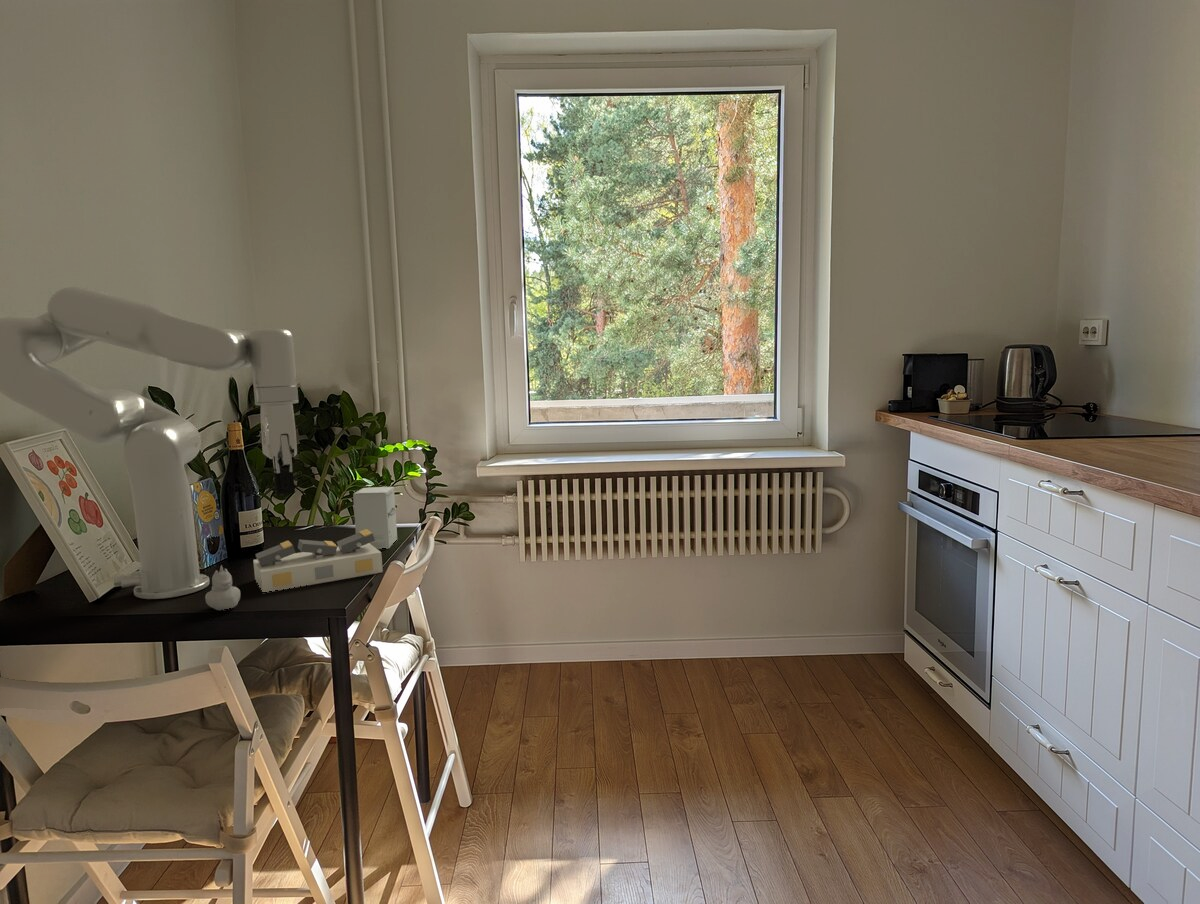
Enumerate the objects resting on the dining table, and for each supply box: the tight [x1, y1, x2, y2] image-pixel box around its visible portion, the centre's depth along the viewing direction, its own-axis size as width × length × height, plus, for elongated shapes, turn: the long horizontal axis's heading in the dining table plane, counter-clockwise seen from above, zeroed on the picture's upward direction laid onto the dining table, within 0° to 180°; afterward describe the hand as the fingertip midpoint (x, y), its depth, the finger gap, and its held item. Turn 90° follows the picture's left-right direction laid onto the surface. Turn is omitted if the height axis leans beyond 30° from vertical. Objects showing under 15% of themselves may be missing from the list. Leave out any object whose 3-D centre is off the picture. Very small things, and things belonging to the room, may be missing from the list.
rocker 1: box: [255, 540, 297, 566], centre depth 153 cm, size 6×5×2 cm
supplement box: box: [352, 486, 398, 550], centre depth 179 cm, size 7×7×13 cm
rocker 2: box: [297, 539, 338, 555], centre depth 157 cm, size 6×5×2 cm
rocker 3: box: [336, 529, 375, 553], centre depth 160 cm, size 6×5×2 cm
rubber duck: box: [204, 564, 241, 611], centre depth 139 cm, size 5×7×8 cm
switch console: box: [252, 543, 384, 593], centre depth 157 cm, size 22×10×5 cm, turn 120°
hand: (285, 492), depth 153 cm, fingers closed
